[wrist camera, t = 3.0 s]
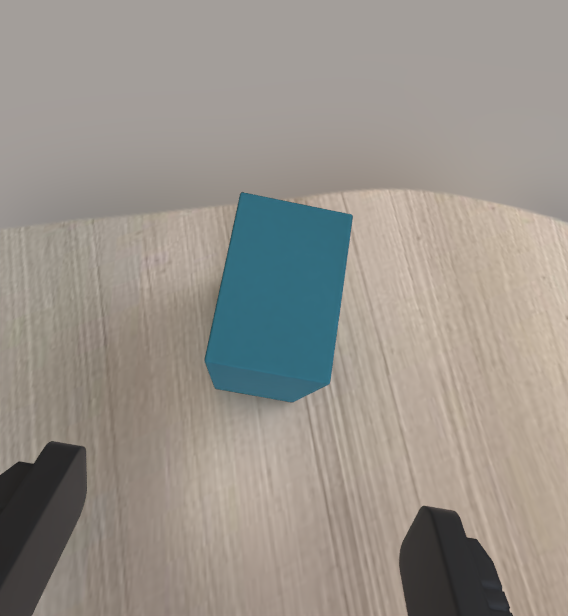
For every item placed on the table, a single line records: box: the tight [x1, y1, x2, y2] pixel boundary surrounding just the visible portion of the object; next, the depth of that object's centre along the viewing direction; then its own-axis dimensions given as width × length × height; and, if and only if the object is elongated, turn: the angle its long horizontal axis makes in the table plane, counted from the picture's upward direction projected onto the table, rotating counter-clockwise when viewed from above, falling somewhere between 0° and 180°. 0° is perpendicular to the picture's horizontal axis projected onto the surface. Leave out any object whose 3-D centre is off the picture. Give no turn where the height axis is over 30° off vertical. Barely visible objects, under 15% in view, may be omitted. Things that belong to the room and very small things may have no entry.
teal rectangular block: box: [205, 192, 353, 402], centre depth 19 cm, size 4×6×9 cm, turn 171°
